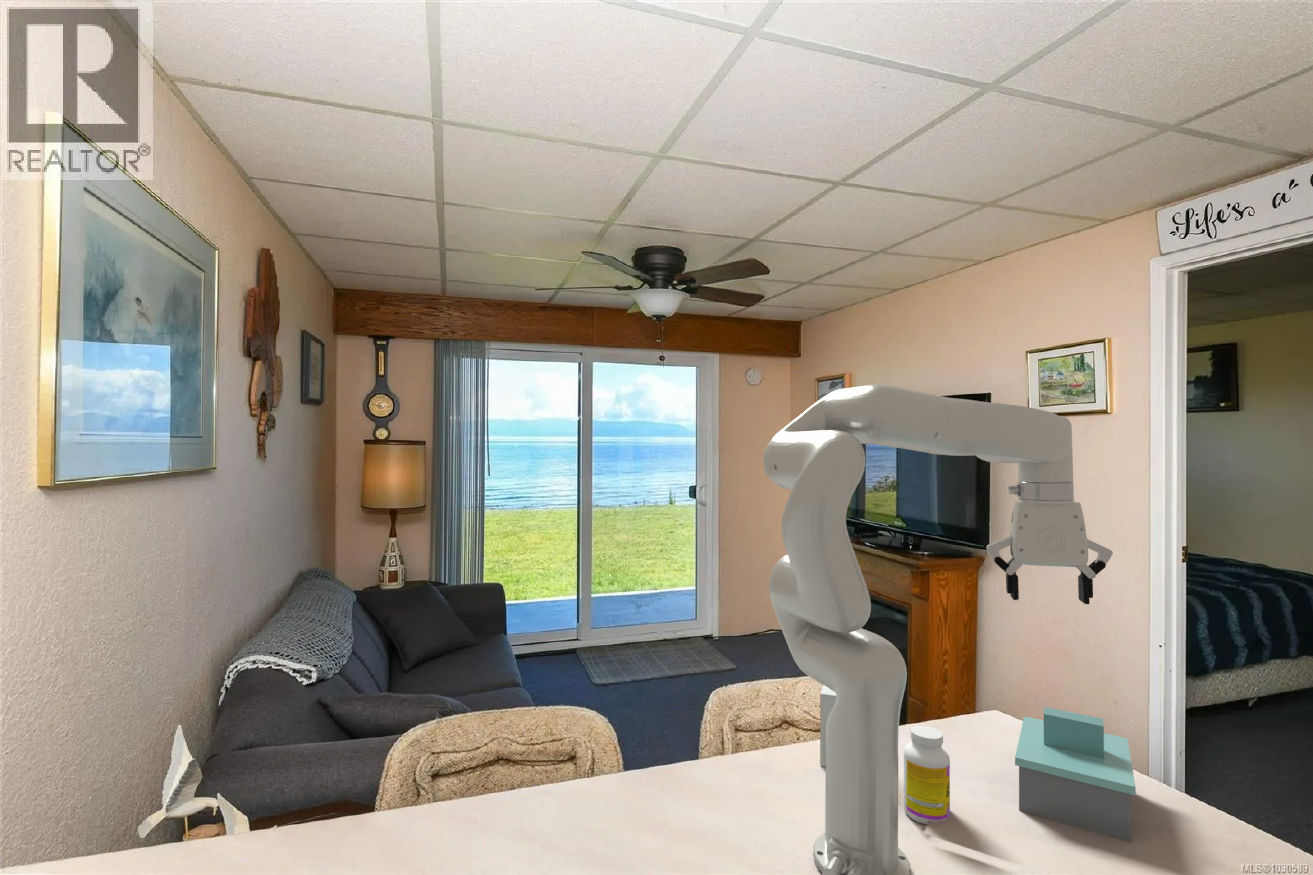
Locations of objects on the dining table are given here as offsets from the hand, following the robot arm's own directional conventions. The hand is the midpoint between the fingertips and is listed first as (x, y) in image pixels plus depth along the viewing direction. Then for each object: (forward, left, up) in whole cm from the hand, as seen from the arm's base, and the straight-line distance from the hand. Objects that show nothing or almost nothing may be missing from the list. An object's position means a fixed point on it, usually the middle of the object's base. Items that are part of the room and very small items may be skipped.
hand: (1048, 600), depth 100 cm
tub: (+5, -3, -33) cm, 34 cm away
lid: (+5, -3, -27) cm, 27 cm away
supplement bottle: (-12, +16, -34) cm, 39 cm away
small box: (-2, +33, -34) cm, 47 cm away
